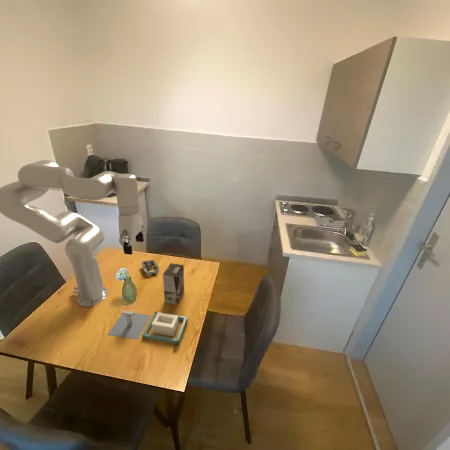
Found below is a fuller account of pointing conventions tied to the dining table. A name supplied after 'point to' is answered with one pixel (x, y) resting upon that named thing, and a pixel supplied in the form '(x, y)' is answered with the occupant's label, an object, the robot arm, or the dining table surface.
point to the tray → (162, 338)
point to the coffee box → (173, 283)
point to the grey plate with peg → (129, 325)
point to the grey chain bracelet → (150, 267)
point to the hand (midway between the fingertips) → (134, 247)
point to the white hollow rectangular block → (165, 324)
